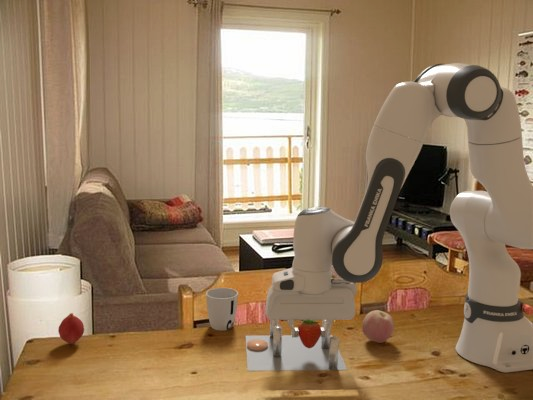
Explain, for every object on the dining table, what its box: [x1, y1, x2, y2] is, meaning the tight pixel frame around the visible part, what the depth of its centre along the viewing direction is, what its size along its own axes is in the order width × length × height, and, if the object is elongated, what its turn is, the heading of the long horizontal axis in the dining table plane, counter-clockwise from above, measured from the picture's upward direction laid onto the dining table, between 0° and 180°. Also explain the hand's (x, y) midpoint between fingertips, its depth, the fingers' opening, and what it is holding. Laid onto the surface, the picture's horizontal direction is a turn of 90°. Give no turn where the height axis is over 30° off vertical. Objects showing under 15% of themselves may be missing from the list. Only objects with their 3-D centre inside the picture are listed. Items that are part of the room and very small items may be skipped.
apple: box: [361, 309, 395, 344], centre depth 139 cm, size 8×8×8 cm
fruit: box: [297, 320, 321, 348], centre depth 127 cm, size 5×5×8 cm
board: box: [245, 334, 348, 372], centre depth 131 cm, size 22×18×1 cm
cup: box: [205, 287, 239, 332], centre depth 144 cm, size 8×8×10 cm
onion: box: [58, 312, 85, 345], centre depth 134 cm, size 6×6×8 cm
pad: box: [247, 339, 268, 351], centre depth 133 cm, size 5×5×1 cm
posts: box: [269, 319, 340, 371], centre depth 130 cm, size 14×18×7 cm
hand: (309, 336), depth 127 cm, fingers closed on fruit, 5 cm apart
